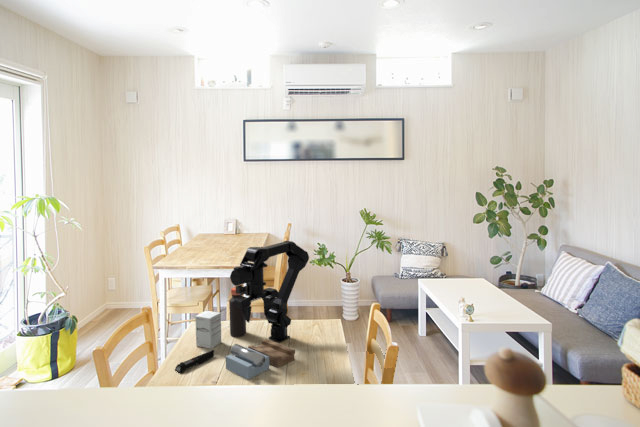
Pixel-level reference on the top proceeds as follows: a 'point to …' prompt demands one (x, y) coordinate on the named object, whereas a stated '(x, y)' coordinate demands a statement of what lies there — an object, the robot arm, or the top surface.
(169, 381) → the top surface
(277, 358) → the beam
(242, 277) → the robot arm
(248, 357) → the axle
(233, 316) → the bottle
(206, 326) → the supplement box
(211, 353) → the electric trimmer
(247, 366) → the cradle
